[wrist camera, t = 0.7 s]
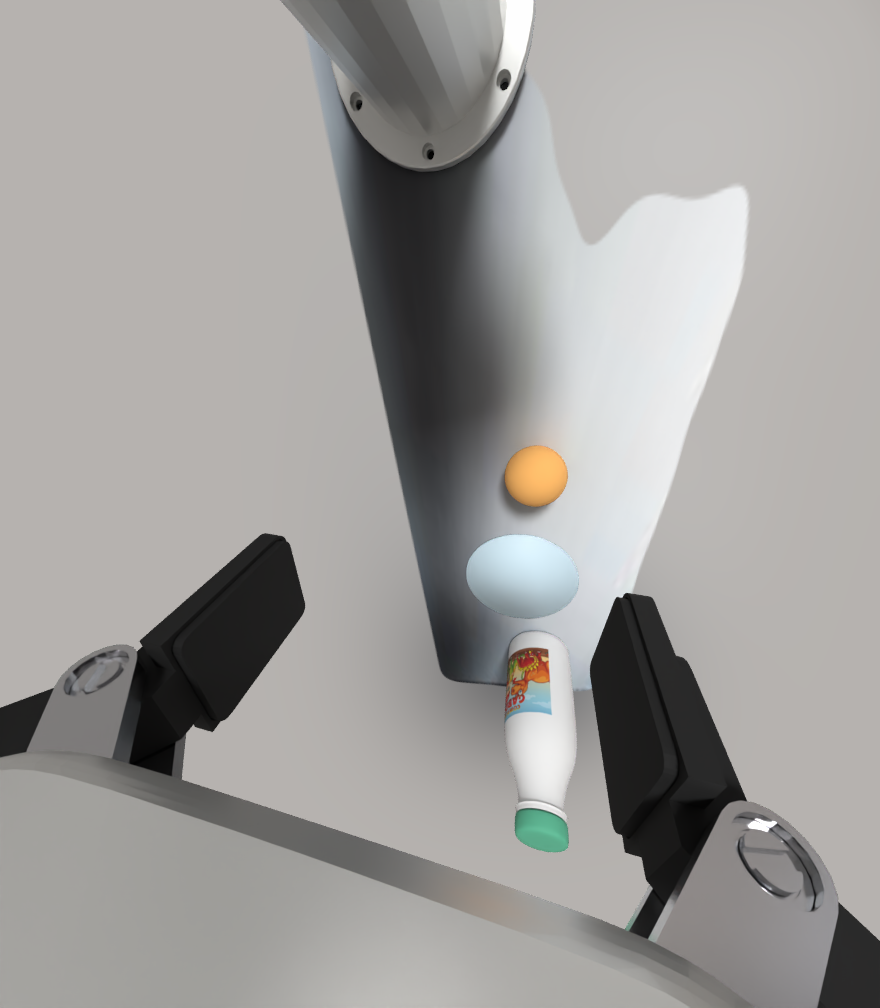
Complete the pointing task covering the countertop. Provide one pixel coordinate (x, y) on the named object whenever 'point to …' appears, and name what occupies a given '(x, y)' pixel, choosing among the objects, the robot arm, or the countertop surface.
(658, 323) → the countertop surface
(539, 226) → the countertop surface
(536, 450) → the ball
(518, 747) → the milk bottle
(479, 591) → the disc
